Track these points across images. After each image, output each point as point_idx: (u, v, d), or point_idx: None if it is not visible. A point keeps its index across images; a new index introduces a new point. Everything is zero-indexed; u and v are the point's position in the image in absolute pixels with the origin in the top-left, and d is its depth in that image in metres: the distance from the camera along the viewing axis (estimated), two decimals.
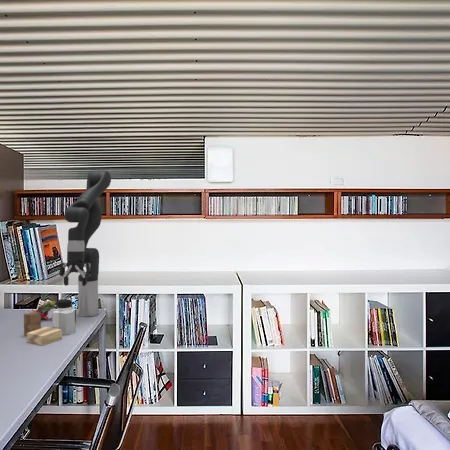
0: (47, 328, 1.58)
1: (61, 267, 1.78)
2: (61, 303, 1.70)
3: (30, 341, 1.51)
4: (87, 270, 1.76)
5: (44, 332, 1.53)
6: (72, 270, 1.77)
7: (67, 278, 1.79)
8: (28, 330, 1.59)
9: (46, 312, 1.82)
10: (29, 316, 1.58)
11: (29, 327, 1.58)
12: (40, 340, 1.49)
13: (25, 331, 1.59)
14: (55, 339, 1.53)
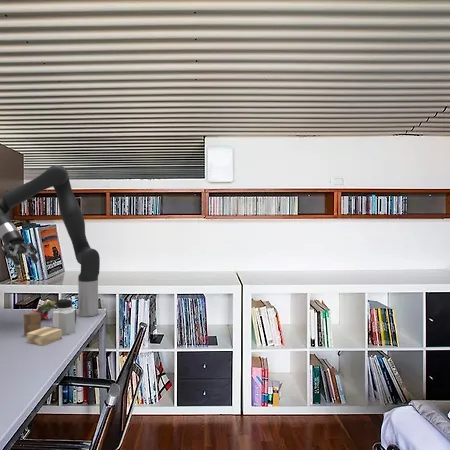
0: (47, 328, 1.58)
1: None
2: (61, 303, 1.70)
3: (30, 341, 1.51)
4: None
5: (44, 332, 1.53)
6: None
7: (32, 256, 1.70)
8: (28, 330, 1.59)
9: (46, 312, 1.82)
10: (29, 316, 1.58)
11: (29, 327, 1.58)
12: (40, 340, 1.49)
13: (25, 331, 1.59)
14: (55, 339, 1.53)
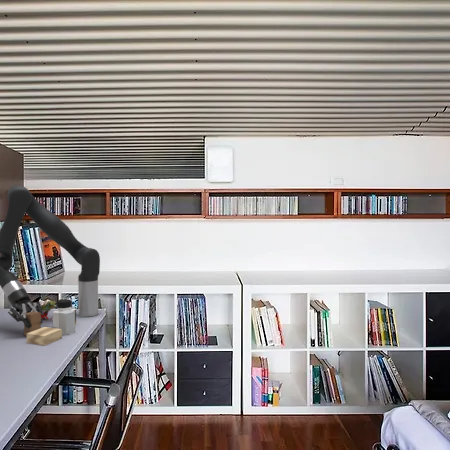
0: (46, 328, 1.57)
1: None
2: (61, 303, 1.70)
3: (30, 342, 1.51)
4: None
5: (44, 332, 1.53)
6: None
7: None
8: (28, 330, 1.59)
9: (46, 312, 1.82)
10: (29, 316, 1.58)
11: None
12: (42, 340, 1.49)
13: (25, 331, 1.59)
14: (56, 339, 1.54)
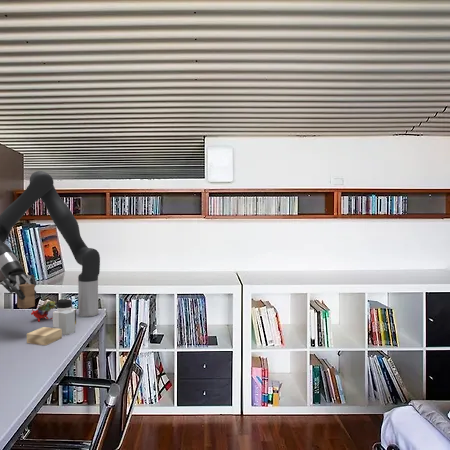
0: (45, 328, 1.57)
1: None
2: (61, 303, 1.70)
3: (30, 342, 1.50)
4: None
5: (44, 332, 1.53)
6: None
7: None
8: (21, 302, 1.56)
9: (46, 312, 1.82)
10: (22, 287, 1.55)
11: None
12: (43, 340, 1.49)
13: (18, 303, 1.57)
14: (56, 338, 1.54)
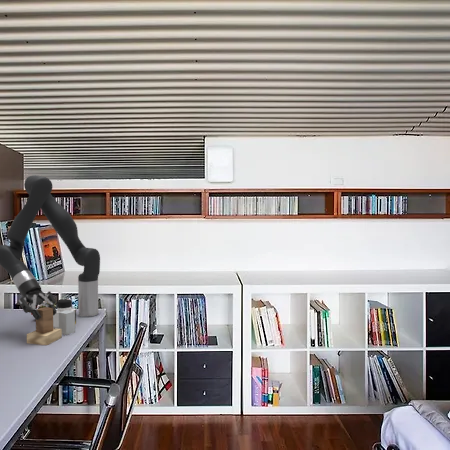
0: None
1: None
2: (61, 303, 1.70)
3: (30, 342, 1.50)
4: None
5: None
6: None
7: None
8: (40, 327, 1.52)
9: None
10: (41, 311, 1.51)
11: (41, 323, 1.51)
12: (44, 340, 1.49)
13: (37, 327, 1.53)
14: (56, 338, 1.54)
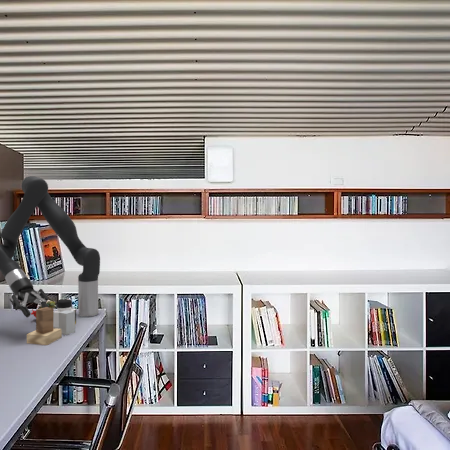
0: None
1: None
2: (61, 303, 1.70)
3: (30, 342, 1.50)
4: None
5: None
6: None
7: (43, 304, 1.59)
8: (40, 327, 1.52)
9: None
10: (41, 312, 1.51)
11: (41, 323, 1.51)
12: (44, 340, 1.49)
13: (37, 327, 1.53)
14: (56, 338, 1.55)
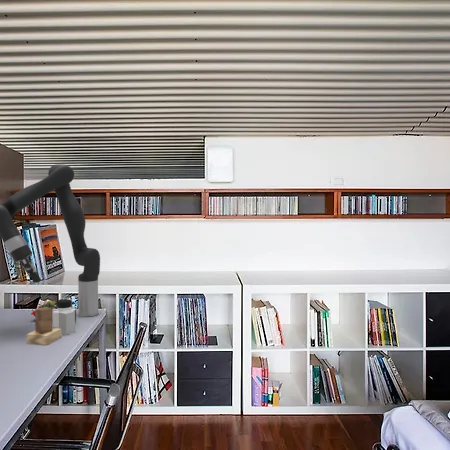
0: None
1: None
2: (61, 303, 1.70)
3: (30, 342, 1.50)
4: (24, 267, 1.56)
5: None
6: None
7: (35, 275, 1.66)
8: (39, 327, 1.52)
9: None
10: (40, 311, 1.51)
11: (40, 323, 1.51)
12: (44, 340, 1.49)
13: (36, 327, 1.53)
14: (56, 338, 1.55)
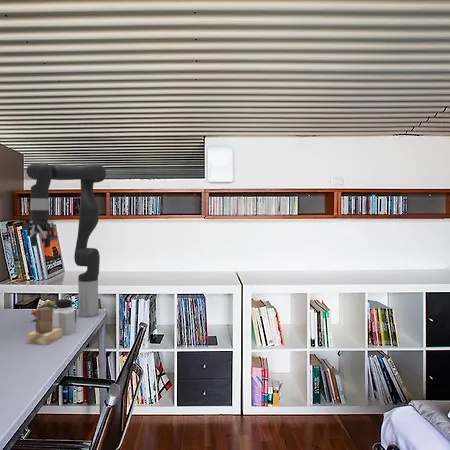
0: None
1: (28, 227, 1.69)
2: (61, 303, 1.70)
3: (31, 342, 1.50)
4: (48, 230, 1.63)
5: None
6: (36, 230, 1.67)
7: (34, 239, 1.69)
8: (38, 327, 1.52)
9: None
10: (39, 311, 1.51)
11: (40, 323, 1.51)
12: (44, 340, 1.49)
13: (36, 327, 1.53)
14: (56, 338, 1.55)
